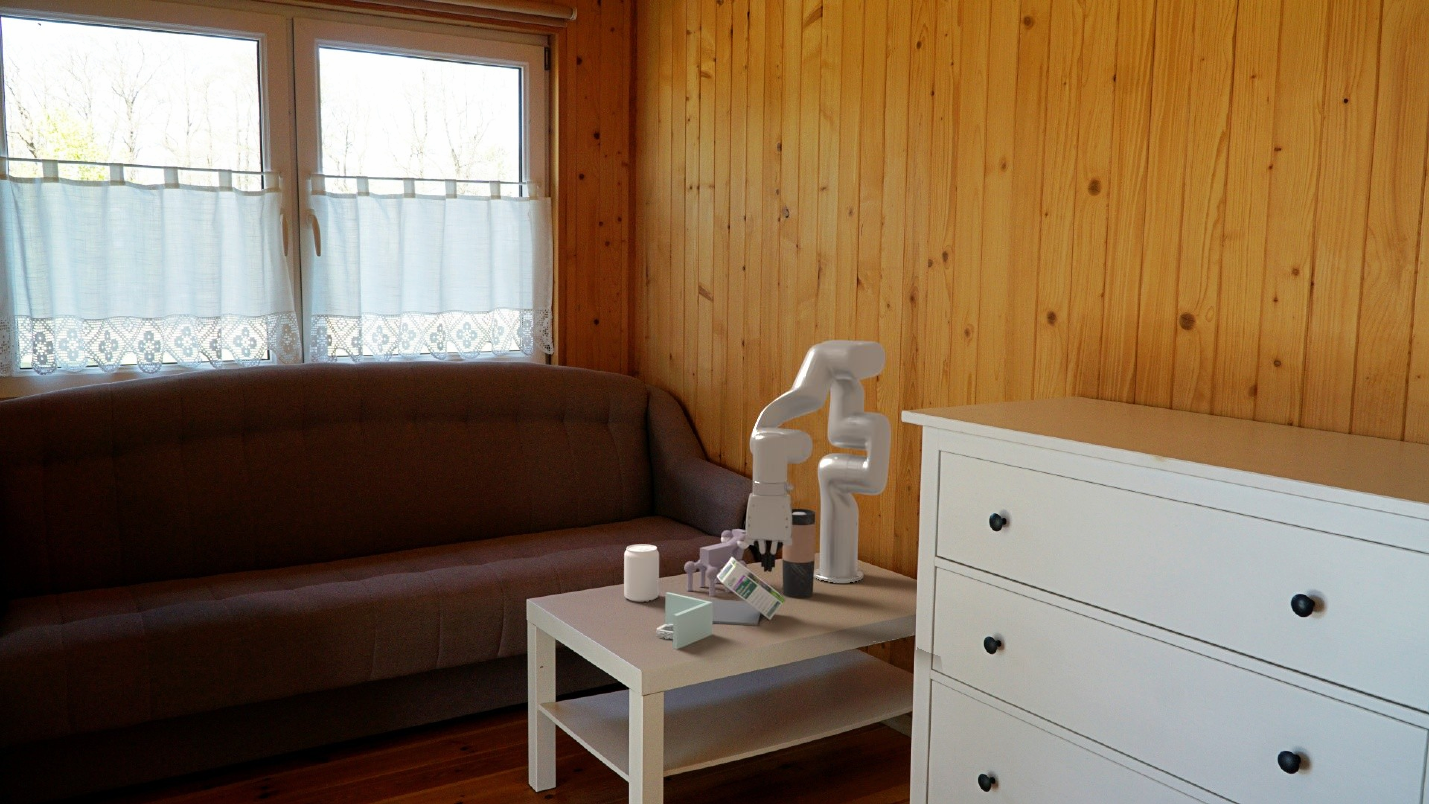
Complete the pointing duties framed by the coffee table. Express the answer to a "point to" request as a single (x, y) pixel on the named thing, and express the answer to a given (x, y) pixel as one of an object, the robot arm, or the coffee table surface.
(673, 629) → the right angle wall
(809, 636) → the coffee table surface
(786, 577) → the travel mug
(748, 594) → the syrup box
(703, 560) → the lavender lumpy figurine
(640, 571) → the beverage can
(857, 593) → the coffee table surface
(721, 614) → the mat
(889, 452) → the robot arm
